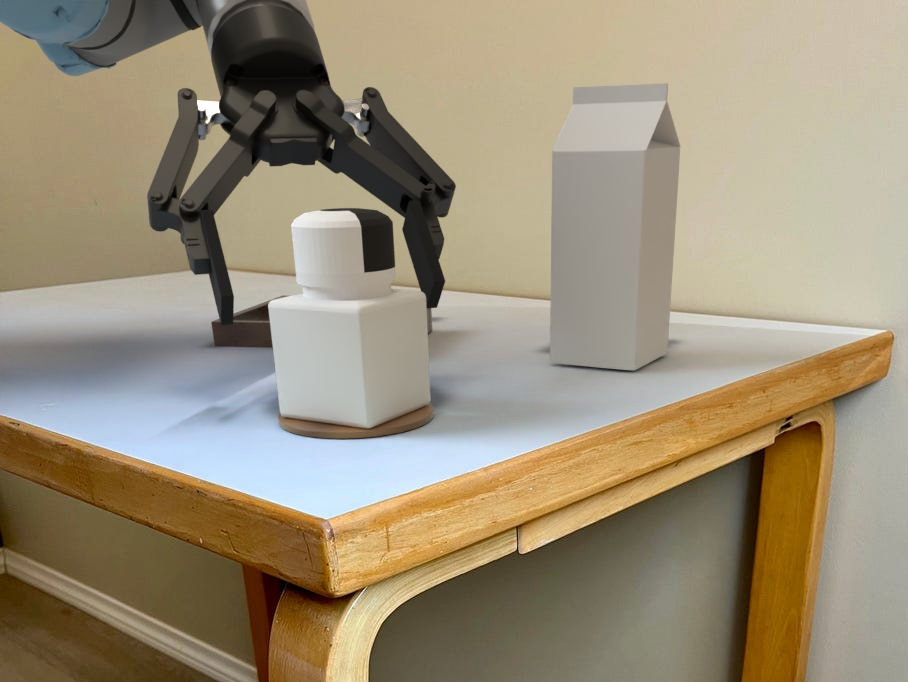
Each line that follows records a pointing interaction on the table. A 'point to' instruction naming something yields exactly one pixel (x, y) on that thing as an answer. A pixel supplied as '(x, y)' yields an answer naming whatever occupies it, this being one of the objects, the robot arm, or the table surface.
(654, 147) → the milk carton
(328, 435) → the cork coaster
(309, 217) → the medicine bottle
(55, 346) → the table surface
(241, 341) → the walnut frame box
